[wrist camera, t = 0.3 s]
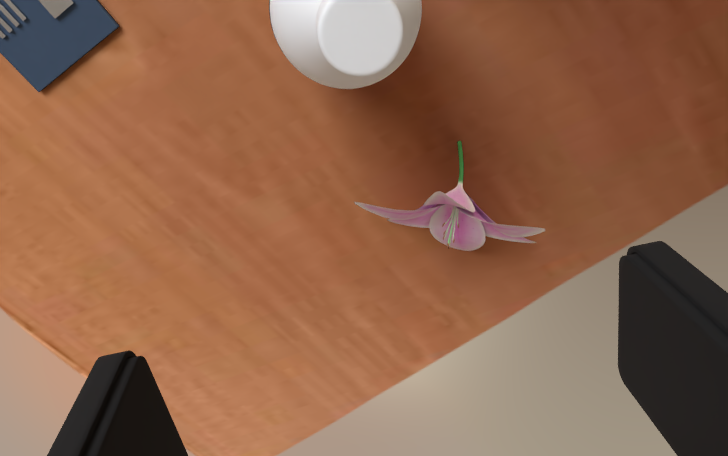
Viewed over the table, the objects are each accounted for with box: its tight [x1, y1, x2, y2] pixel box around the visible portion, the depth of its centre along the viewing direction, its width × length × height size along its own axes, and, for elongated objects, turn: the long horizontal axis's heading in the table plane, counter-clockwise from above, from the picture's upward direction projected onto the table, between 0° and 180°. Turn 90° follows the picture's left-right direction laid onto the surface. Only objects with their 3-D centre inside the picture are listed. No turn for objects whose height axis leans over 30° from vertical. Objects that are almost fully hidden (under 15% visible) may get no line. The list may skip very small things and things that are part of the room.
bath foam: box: [269, 0, 422, 89], centre depth 28 cm, size 7×7×20 cm
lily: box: [354, 141, 545, 251], centre depth 40 cm, size 12×12×10 cm
